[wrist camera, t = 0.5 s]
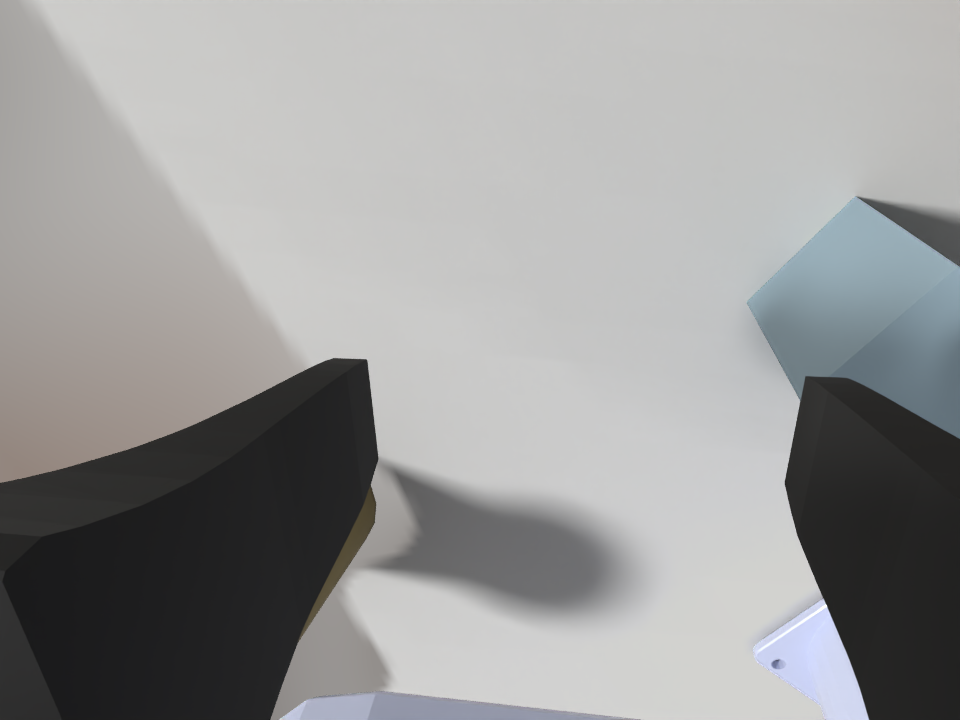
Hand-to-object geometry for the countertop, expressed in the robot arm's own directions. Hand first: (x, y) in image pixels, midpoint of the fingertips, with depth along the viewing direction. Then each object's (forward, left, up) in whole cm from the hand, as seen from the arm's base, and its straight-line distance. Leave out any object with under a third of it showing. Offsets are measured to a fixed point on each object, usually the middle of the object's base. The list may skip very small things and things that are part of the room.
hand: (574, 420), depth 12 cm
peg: (-7, -4, -10) cm, 13 cm away
